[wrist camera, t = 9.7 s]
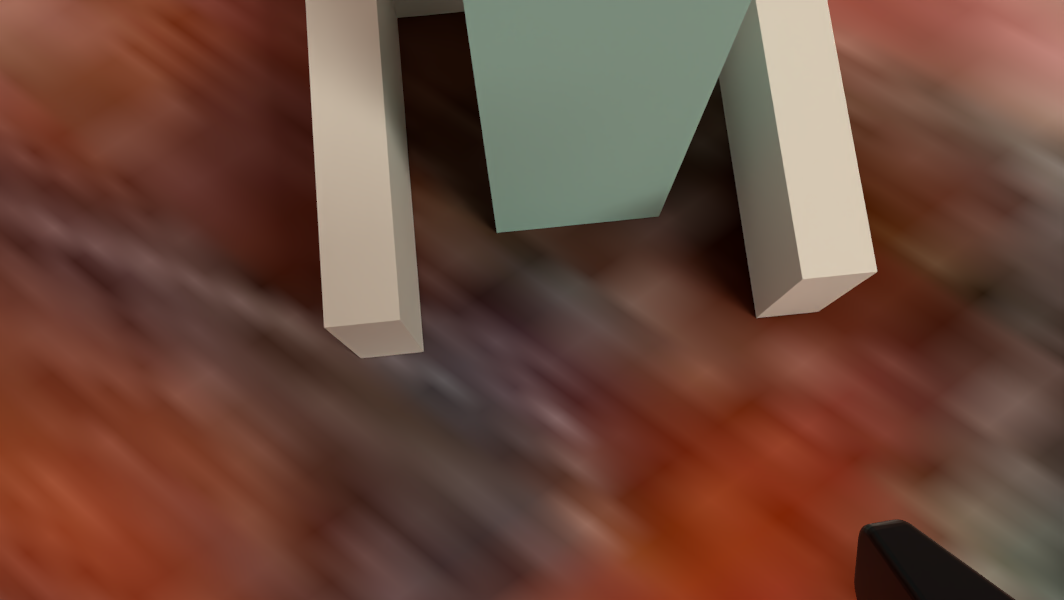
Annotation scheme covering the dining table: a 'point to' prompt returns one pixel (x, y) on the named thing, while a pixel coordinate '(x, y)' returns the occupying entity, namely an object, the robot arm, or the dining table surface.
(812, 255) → the cradle
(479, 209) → the dining table surface
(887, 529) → the robot arm
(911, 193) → the dining table surface
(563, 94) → the post
